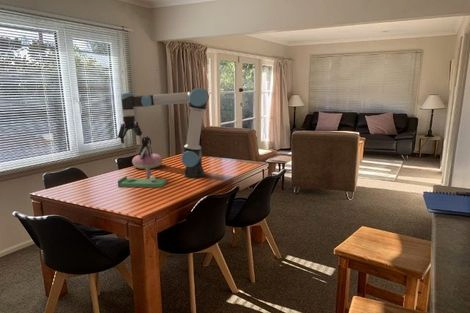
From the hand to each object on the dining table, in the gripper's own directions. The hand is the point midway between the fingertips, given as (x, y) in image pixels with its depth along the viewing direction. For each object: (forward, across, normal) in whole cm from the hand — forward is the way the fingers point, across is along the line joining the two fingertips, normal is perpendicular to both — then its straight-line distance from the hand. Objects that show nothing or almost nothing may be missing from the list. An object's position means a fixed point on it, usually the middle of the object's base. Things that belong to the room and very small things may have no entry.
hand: (131, 146), depth 230 cm
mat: (+25, +5, +13) cm, 29 cm away
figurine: (+25, -13, +1) cm, 28 cm away
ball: (+21, +2, +20) cm, 29 cm away
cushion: (+25, -38, -22) cm, 51 cm away
